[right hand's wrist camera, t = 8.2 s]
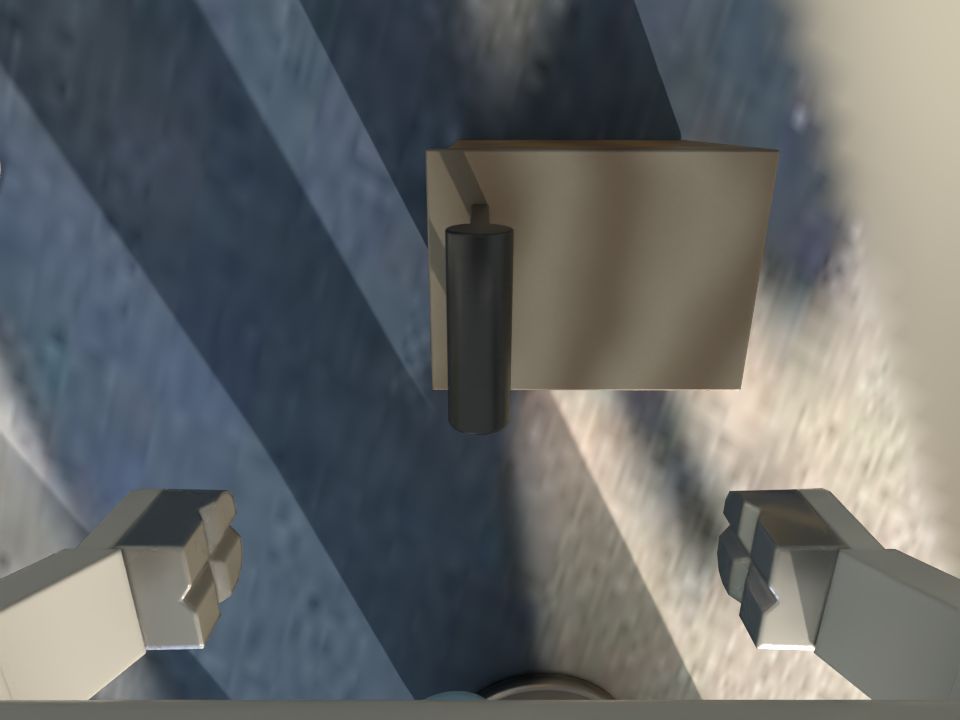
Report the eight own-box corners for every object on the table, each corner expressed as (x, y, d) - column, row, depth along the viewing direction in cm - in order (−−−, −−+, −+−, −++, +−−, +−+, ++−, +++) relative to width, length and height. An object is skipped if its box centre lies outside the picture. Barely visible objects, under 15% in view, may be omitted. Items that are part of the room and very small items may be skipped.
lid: (434, 379, 29) (413, 487, 21) (427, 147, 26) (400, 162, 17) (730, 380, 29) (834, 488, 21) (766, 148, 26) (911, 163, 17)
